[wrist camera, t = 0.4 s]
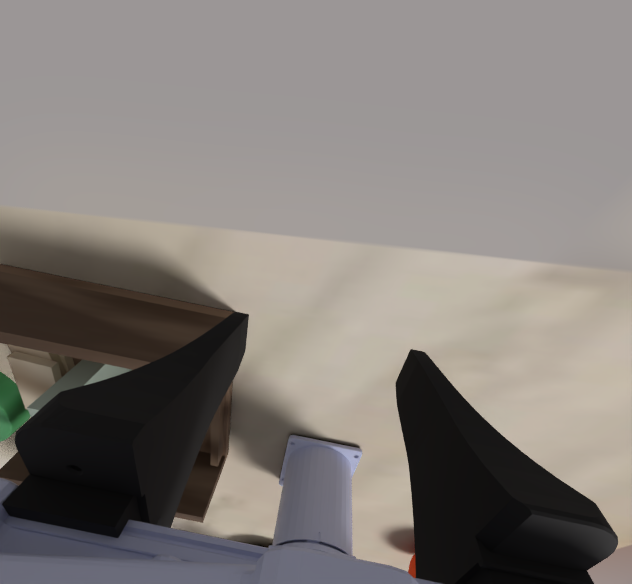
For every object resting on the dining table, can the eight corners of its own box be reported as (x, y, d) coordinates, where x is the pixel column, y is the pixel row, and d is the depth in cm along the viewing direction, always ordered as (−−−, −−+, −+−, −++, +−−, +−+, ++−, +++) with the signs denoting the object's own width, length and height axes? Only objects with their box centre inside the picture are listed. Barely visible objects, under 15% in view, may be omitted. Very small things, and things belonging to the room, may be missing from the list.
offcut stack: (87, 406, 31) (71, 423, 29) (46, 397, 31) (27, 414, 29) (65, 331, 26) (44, 346, 24) (16, 321, 26) (-9, 335, 24)
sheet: (147, 424, 32) (90, 507, 25) (130, 420, 32) (69, 503, 25) (133, 336, 26) (54, 413, 19) (113, 332, 26) (26, 407, 19)
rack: (228, 453, 35) (202, 522, 28) (59, 419, 34) (-3, 481, 28) (236, 312, 25) (200, 372, 19) (1, 264, 25) (-114, 308, 19)
